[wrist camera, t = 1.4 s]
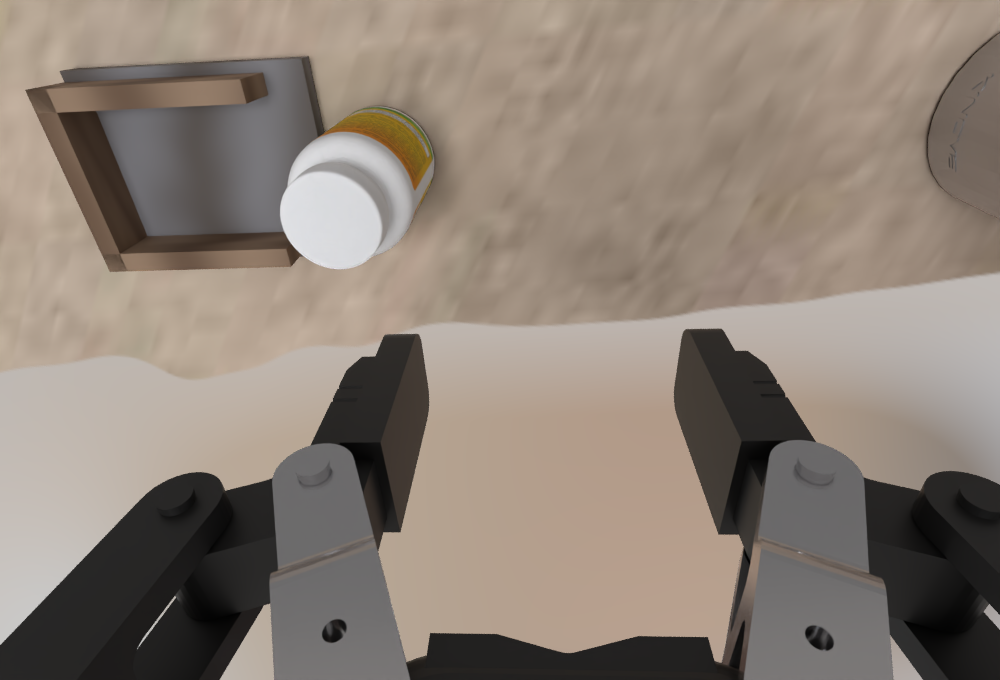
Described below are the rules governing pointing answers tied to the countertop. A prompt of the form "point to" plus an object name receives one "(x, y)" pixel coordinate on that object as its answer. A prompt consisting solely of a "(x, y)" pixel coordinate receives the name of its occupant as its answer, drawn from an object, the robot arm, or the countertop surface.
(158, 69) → the u rest
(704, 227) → the countertop surface
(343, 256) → the supplement bottle
